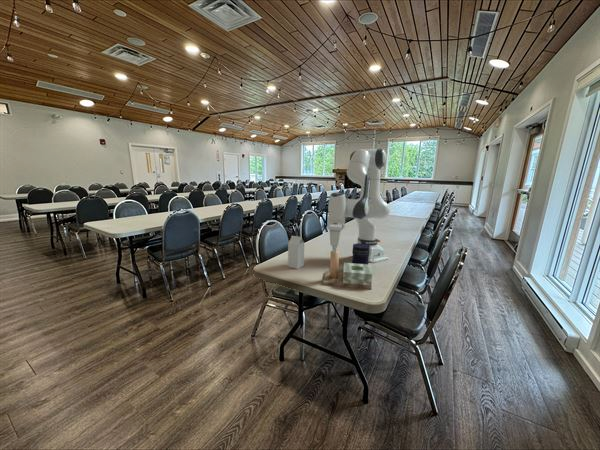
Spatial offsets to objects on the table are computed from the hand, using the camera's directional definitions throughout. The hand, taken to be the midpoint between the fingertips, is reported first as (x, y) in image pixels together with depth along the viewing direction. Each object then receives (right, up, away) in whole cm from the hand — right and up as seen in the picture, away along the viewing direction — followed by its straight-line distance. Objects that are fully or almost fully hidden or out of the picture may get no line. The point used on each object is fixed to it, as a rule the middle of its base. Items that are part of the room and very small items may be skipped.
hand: (334, 250), depth 131 cm
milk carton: (-21, -12, +22) cm, 33 cm away
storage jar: (+18, -14, +18) cm, 29 cm away
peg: (0, -15, +3) cm, 15 cm away
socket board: (+7, -17, +2) cm, 18 cm away
